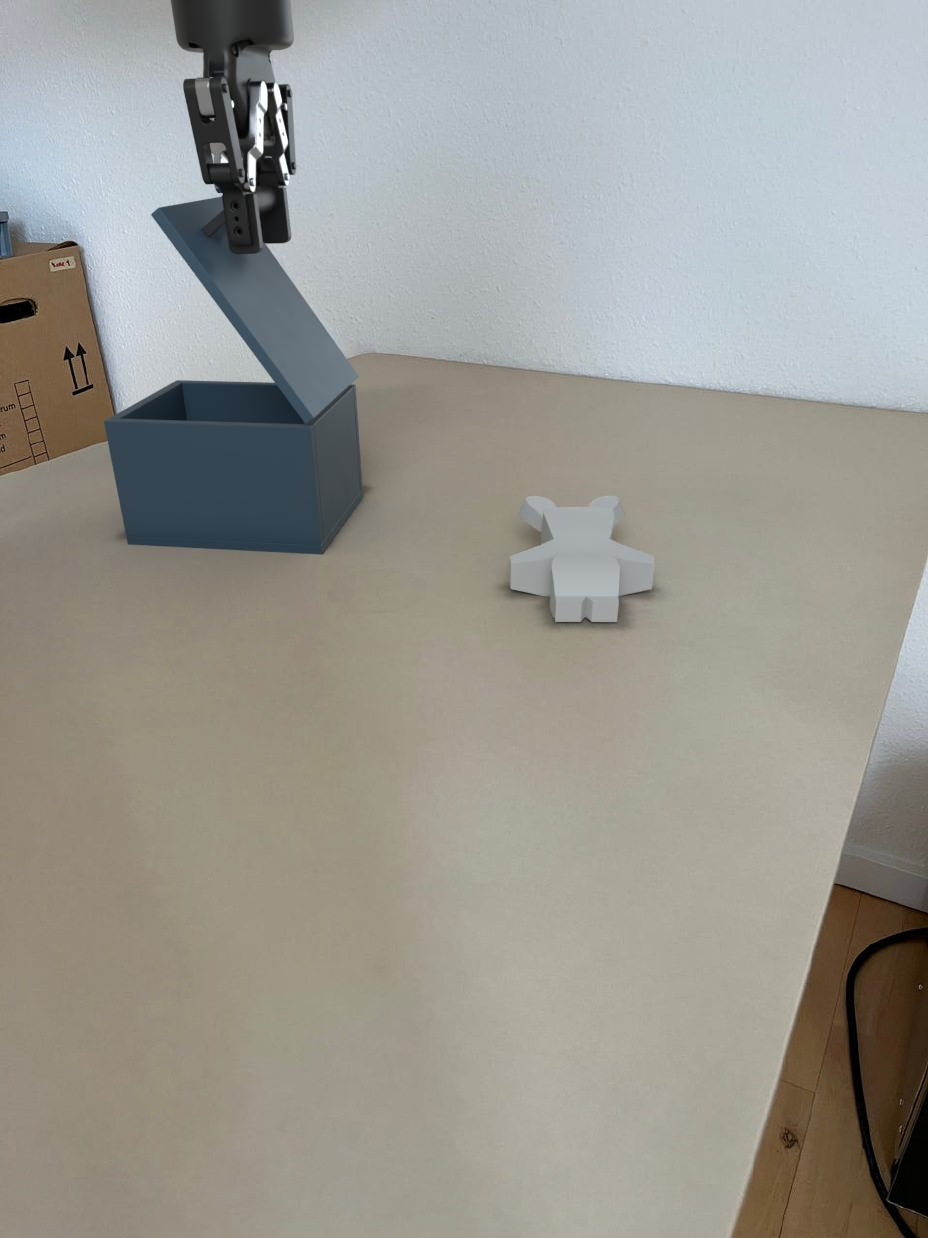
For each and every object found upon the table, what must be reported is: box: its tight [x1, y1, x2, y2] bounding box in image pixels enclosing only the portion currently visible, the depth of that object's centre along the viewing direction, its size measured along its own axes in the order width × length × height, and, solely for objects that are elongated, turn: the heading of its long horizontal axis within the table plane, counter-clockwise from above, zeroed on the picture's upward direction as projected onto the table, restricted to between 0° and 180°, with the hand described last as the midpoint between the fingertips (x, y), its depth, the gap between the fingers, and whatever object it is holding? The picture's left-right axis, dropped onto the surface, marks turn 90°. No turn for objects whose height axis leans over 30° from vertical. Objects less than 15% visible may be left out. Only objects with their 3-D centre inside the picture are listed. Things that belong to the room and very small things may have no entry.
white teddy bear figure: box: [508, 495, 656, 623], centre depth 64 cm, size 10×5×15 cm
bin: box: [103, 379, 364, 556], centre depth 75 cm, size 16×13×10 cm
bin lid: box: [150, 185, 360, 424], centre depth 68 cm, size 16×13×5 cm
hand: (262, 246), depth 67 cm, fingers closed on bin lid, 5 cm apart
